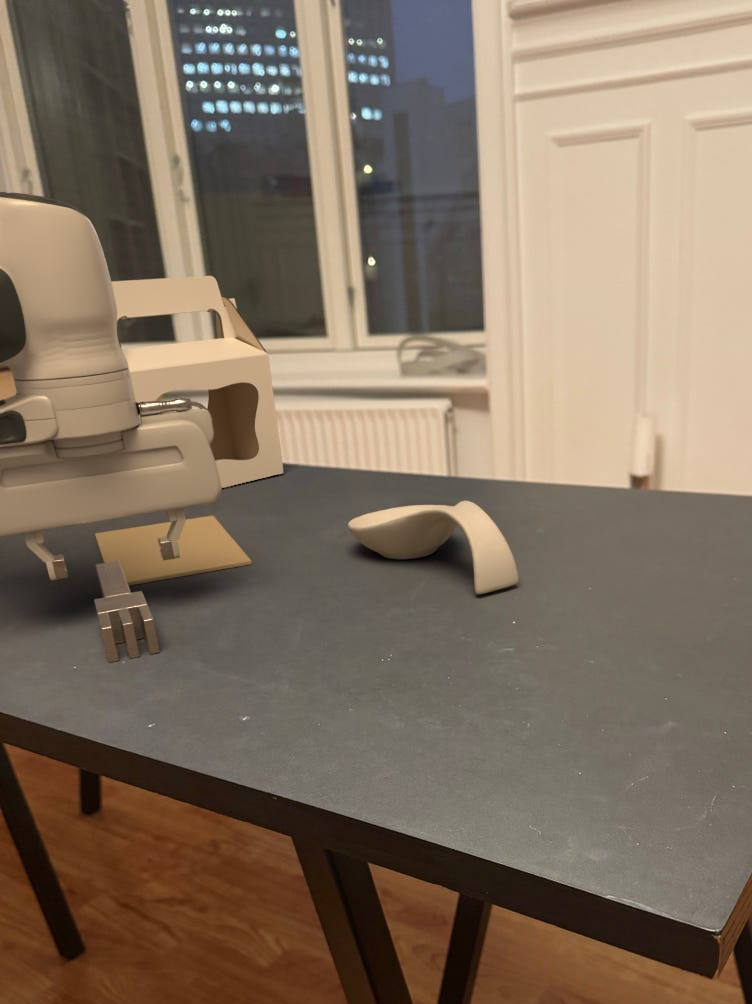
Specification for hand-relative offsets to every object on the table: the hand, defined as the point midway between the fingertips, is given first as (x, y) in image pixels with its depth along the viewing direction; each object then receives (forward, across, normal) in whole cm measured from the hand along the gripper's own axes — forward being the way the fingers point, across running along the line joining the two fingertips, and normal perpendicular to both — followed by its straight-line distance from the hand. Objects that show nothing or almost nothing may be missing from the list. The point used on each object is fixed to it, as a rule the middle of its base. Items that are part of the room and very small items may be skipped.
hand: (116, 567), depth 82 cm
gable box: (+5, -15, -54) cm, 56 cm away
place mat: (+5, -6, -21) cm, 22 cm away
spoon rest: (+6, -30, +1) cm, 31 cm away
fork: (+5, +1, +1) cm, 5 cm away
